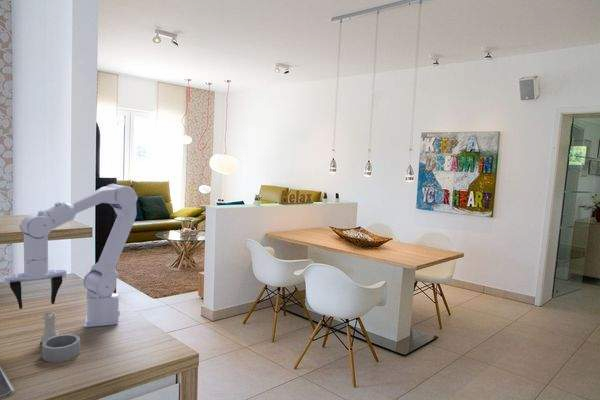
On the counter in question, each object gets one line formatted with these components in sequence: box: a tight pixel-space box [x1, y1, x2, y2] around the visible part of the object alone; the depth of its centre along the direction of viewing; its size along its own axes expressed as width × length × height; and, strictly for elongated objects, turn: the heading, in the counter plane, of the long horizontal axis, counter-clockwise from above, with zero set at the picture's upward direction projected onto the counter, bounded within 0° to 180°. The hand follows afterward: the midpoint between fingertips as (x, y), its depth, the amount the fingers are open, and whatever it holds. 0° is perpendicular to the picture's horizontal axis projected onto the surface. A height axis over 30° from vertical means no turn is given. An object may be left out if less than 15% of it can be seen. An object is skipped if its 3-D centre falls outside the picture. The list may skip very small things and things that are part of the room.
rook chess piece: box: [40, 311, 60, 344], centre depth 117 cm, size 4×4×8 cm
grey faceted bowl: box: [41, 333, 81, 363], centre depth 111 cm, size 9×9×4 cm
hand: (37, 305), depth 118 cm, fingers open, 7 cm apart
